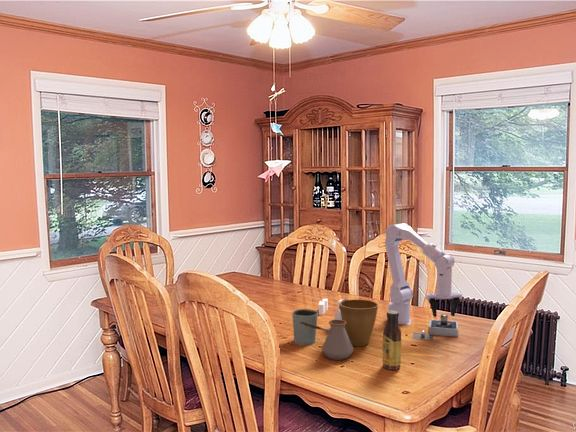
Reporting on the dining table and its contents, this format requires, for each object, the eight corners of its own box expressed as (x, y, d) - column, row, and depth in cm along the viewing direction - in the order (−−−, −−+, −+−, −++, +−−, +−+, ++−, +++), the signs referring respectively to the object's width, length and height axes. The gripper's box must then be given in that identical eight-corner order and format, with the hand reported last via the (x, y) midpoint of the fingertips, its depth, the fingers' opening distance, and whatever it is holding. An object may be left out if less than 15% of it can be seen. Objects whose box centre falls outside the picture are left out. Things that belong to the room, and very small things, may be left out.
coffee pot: (343, 348, 202) (343, 310, 200) (359, 358, 191) (359, 318, 190) (292, 357, 193) (292, 317, 192) (306, 368, 183) (306, 326, 181)
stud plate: (412, 340, 211) (412, 332, 210) (413, 334, 218) (413, 326, 218) (432, 341, 208) (432, 334, 208) (433, 335, 216) (433, 328, 216)
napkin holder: (322, 317, 245) (322, 305, 245) (305, 313, 253) (305, 301, 253) (343, 311, 255) (343, 299, 255) (326, 307, 264) (326, 295, 263)
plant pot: (373, 351, 198) (373, 310, 197) (335, 347, 203) (335, 306, 202) (381, 339, 212) (381, 300, 211) (344, 335, 217) (344, 297, 216)
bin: (429, 335, 216) (429, 327, 215) (430, 327, 226) (430, 319, 226) (457, 337, 213) (458, 329, 212) (457, 329, 223) (457, 321, 223)
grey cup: (288, 339, 213) (288, 310, 212) (311, 336, 217) (310, 307, 216) (299, 347, 204) (298, 317, 203) (322, 343, 208) (322, 313, 207)
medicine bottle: (355, 326, 230) (355, 299, 229) (350, 330, 224) (350, 303, 223) (339, 324, 233) (339, 297, 232) (334, 328, 227) (334, 301, 226)
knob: (436, 331, 219) (436, 315, 218) (441, 329, 222) (441, 313, 222) (446, 334, 216) (446, 317, 215) (451, 331, 219) (451, 315, 218)
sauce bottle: (380, 364, 185) (380, 309, 184) (397, 363, 186) (398, 308, 184) (385, 371, 179) (385, 314, 177) (403, 370, 179) (403, 313, 178)
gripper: (430, 286, 213) (429, 319, 214) (465, 285, 214) (464, 318, 215) (424, 282, 220) (424, 314, 222) (458, 281, 221) (457, 313, 222)
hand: (443, 316), depth 219 cm, fingers open, 7 cm apart
